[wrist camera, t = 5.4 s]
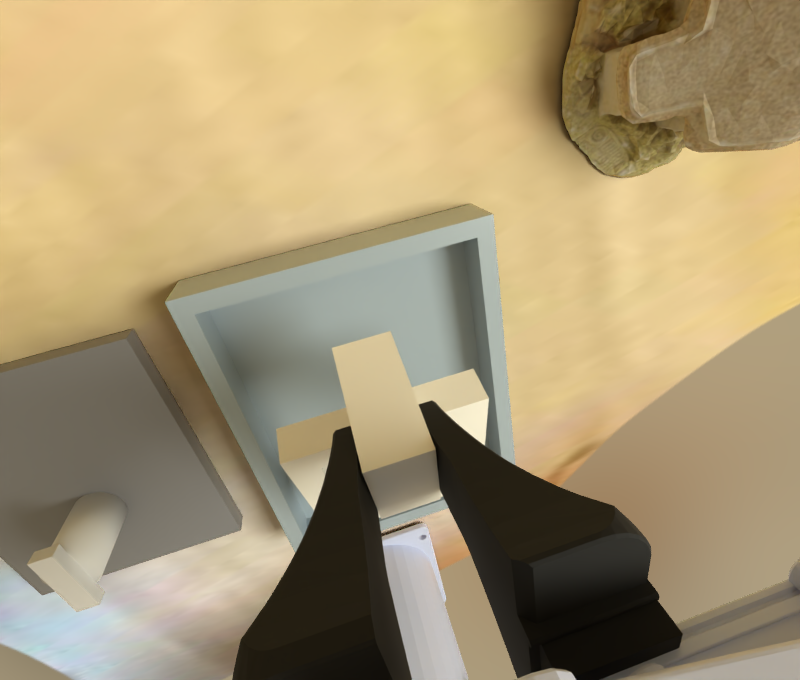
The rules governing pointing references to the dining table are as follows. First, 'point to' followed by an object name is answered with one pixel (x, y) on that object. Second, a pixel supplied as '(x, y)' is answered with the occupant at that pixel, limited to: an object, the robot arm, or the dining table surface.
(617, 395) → the dining table surface
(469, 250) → the tray
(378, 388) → the square frame with tab
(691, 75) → the ceramic model
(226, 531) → the plate
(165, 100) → the dining table surface
